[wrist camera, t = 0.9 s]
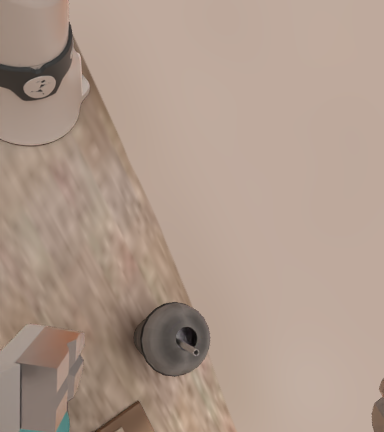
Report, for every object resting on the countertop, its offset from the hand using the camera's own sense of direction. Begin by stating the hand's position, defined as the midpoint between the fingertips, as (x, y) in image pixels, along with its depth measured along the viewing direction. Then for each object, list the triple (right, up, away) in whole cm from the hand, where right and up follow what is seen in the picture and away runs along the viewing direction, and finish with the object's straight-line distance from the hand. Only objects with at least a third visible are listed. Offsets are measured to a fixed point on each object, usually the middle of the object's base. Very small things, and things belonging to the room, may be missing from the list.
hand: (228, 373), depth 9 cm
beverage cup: (-7, -12, +37) cm, 39 cm away
